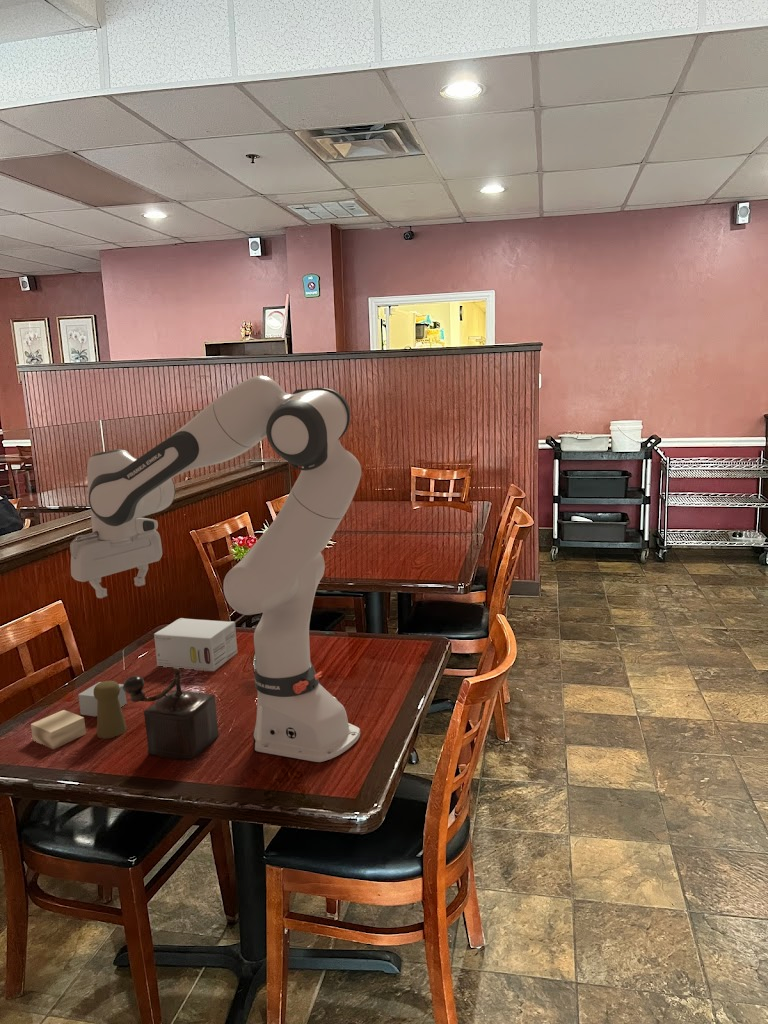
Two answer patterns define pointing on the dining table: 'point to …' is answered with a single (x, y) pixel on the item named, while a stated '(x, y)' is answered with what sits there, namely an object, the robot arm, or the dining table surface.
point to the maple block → (58, 729)
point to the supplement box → (196, 644)
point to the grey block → (90, 702)
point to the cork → (109, 710)
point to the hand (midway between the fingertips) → (121, 591)
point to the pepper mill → (176, 719)
